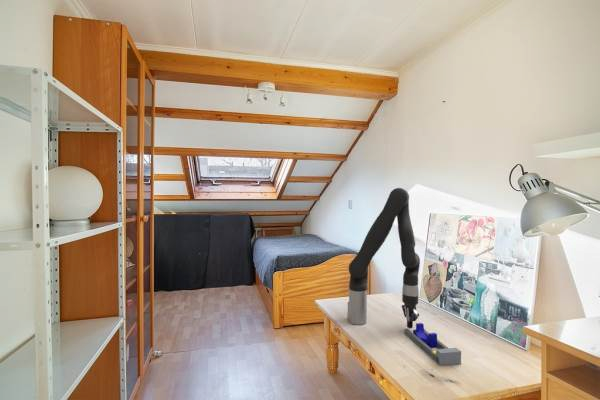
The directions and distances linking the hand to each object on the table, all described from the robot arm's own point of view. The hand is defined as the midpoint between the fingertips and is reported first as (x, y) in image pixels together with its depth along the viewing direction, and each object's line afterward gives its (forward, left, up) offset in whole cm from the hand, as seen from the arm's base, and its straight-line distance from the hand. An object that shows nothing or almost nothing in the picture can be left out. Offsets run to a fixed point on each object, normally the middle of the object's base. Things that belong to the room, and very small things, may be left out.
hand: (409, 327), depth 153 cm
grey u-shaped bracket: (0, -16, -1) cm, 16 cm away
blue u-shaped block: (+1, -12, -2) cm, 12 cm away
